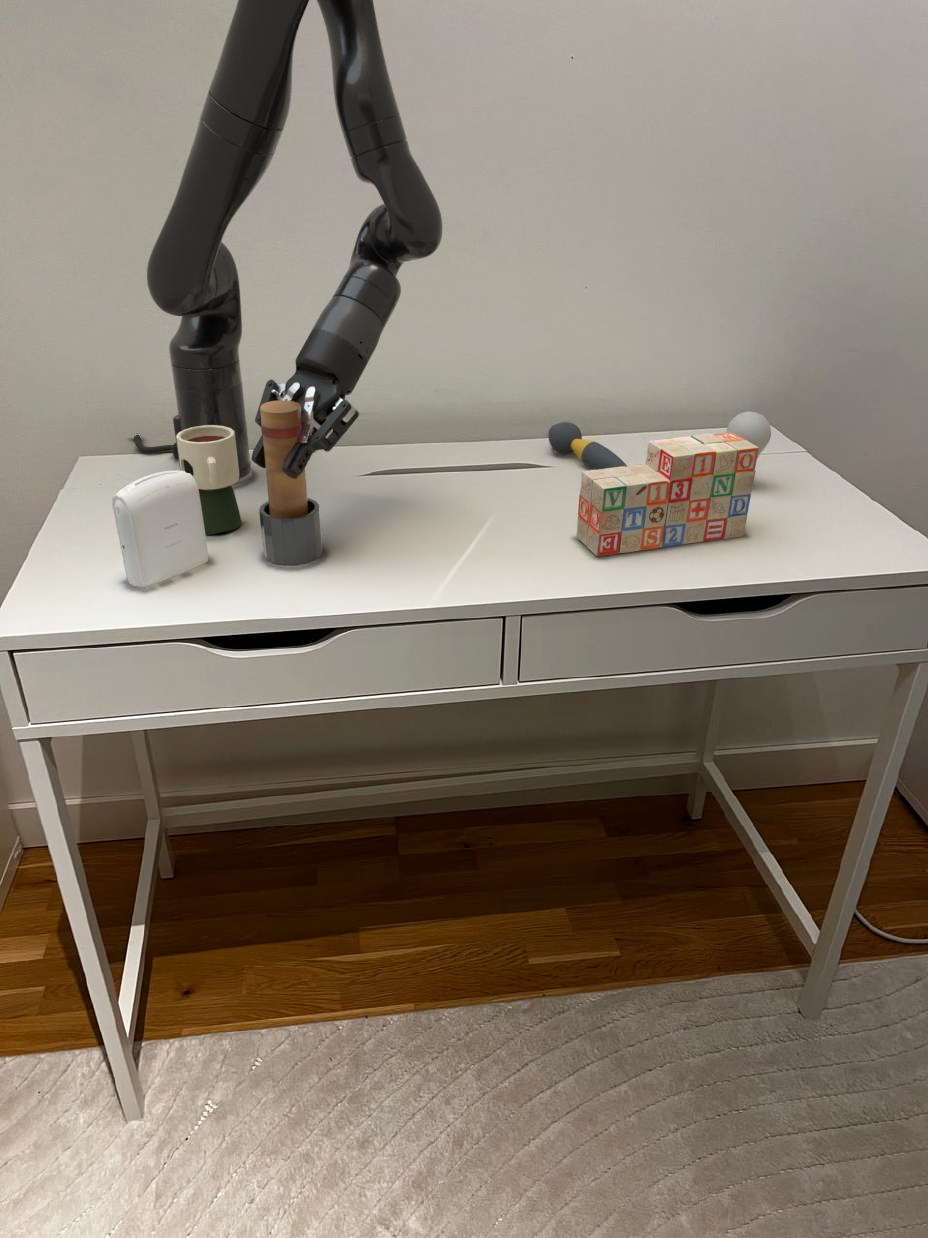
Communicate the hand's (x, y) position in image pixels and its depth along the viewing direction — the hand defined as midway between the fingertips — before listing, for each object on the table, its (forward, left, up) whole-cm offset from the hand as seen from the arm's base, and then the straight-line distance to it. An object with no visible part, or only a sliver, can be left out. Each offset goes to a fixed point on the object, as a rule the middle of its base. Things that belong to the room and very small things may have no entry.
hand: (273, 469), depth 113 cm
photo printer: (-11, -7, -12) cm, 18 cm away
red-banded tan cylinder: (+1, +2, -8) cm, 8 cm away
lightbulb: (+52, +44, -12) cm, 69 cm away
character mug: (-12, +6, -12) cm, 18 cm away
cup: (+1, +2, -12) cm, 12 cm away
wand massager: (+29, +46, -12) cm, 55 cm away
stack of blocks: (+43, +22, -12) cm, 50 cm away
